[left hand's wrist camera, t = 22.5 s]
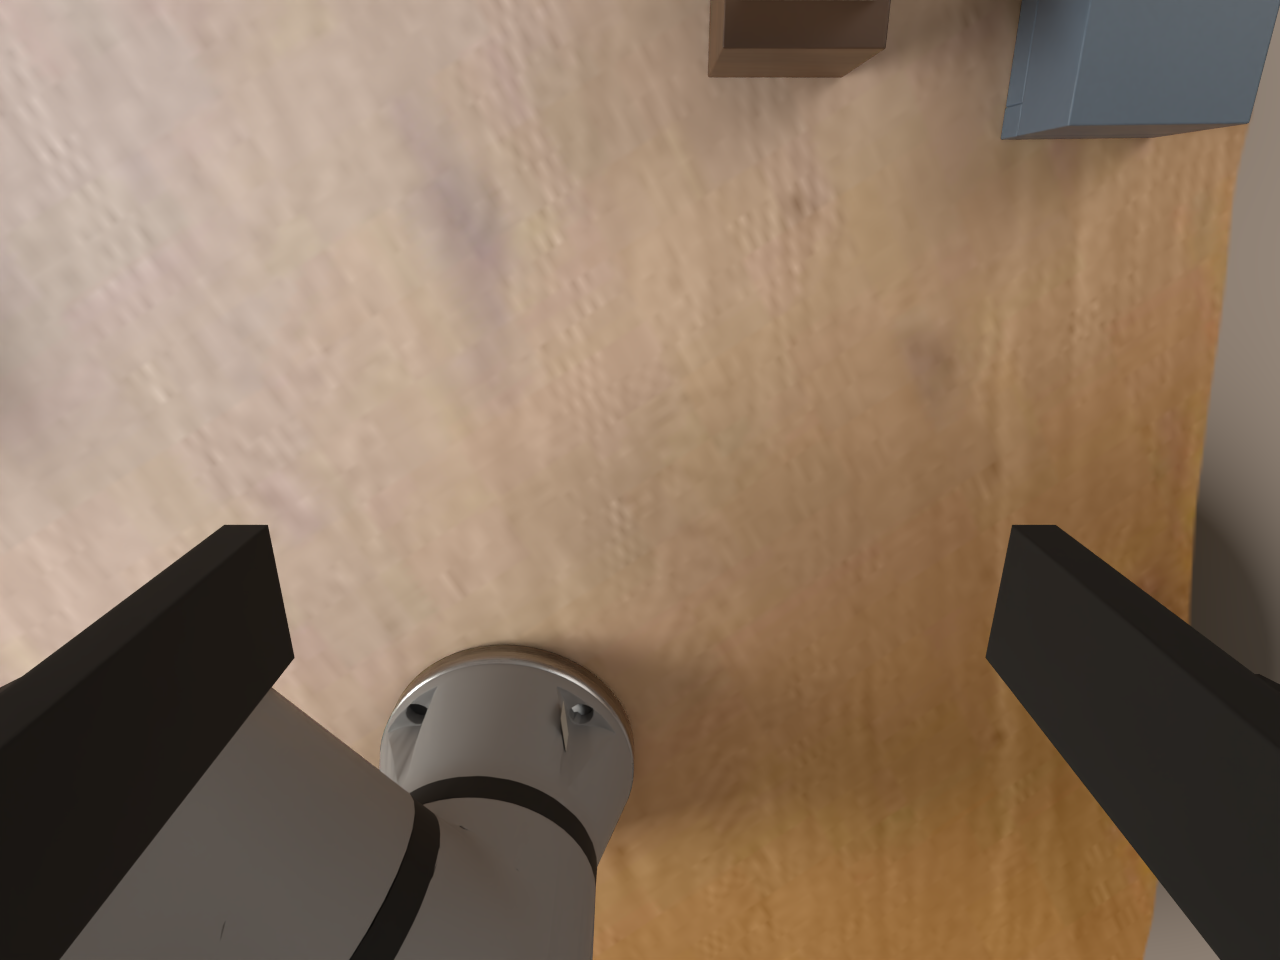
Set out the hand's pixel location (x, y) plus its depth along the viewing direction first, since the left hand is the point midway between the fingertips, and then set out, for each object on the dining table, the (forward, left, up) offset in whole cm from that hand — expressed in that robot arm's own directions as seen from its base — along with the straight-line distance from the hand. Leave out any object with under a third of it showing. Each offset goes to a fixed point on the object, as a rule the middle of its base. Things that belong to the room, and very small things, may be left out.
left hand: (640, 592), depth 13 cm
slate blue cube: (+13, -20, -25) cm, 34 cm away
